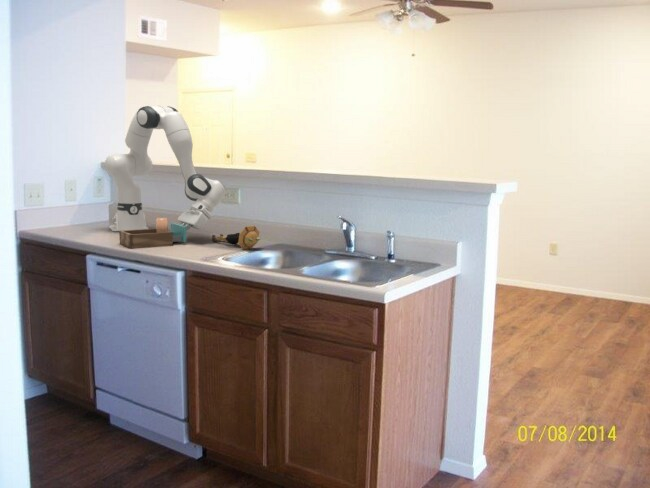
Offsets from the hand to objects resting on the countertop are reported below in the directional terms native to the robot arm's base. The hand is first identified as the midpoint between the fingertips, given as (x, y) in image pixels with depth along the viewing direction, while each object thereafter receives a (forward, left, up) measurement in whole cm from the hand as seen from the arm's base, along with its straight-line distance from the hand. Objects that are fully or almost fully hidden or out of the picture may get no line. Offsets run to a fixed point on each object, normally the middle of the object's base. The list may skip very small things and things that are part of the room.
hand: (180, 232), depth 287 cm
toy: (+21, +18, -5) cm, 28 cm away
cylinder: (0, -9, -2) cm, 9 cm away
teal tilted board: (0, -10, -3) cm, 11 cm away
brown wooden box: (0, -16, -5) cm, 16 cm away
